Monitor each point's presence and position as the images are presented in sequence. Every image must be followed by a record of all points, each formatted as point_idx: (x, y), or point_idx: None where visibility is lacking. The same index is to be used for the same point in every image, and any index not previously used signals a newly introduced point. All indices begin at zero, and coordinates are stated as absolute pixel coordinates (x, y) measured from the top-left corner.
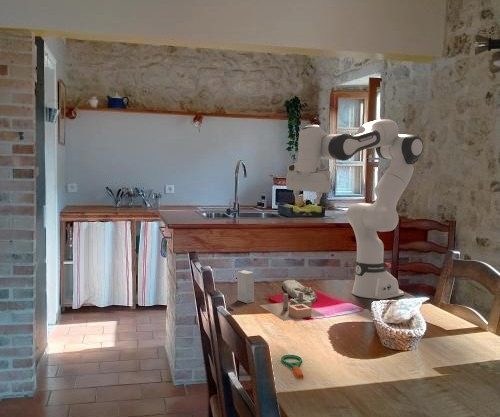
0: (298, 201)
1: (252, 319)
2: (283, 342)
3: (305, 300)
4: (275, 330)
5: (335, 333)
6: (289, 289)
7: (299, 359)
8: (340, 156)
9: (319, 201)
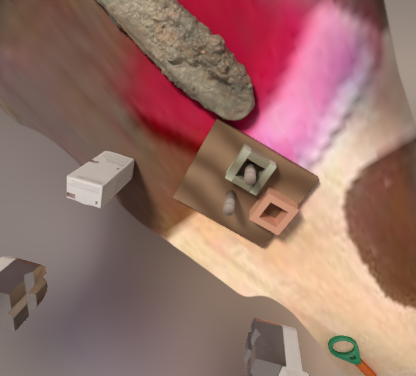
0: (42, 293)
1: (203, 246)
2: (302, 302)
3: (259, 165)
4: (266, 270)
5: (365, 235)
6: (147, 51)
7: (352, 343)
8: None
9: (298, 349)
